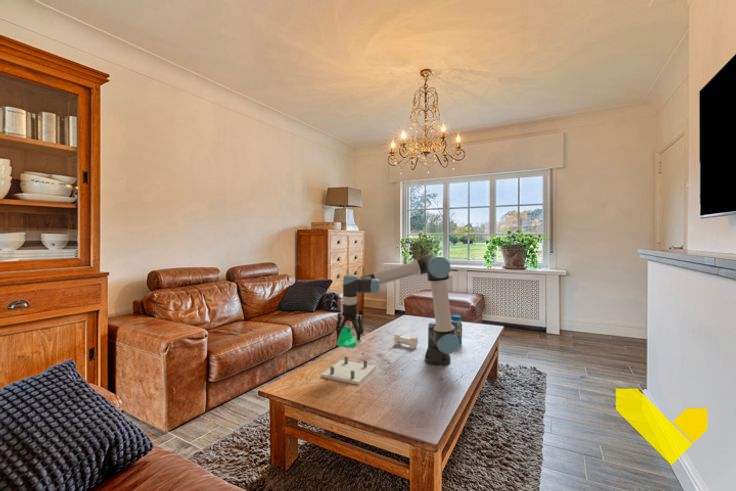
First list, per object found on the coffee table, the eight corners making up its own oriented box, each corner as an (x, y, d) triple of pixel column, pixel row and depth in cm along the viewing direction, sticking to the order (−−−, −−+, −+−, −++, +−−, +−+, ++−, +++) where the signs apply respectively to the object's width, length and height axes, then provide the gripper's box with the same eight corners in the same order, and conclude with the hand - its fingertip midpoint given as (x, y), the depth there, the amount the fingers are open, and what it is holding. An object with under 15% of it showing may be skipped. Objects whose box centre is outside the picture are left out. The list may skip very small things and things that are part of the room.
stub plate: (375, 368, 190) (375, 360, 190) (358, 384, 170) (359, 375, 170) (340, 362, 199) (341, 353, 199) (321, 376, 179) (321, 367, 179)
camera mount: (347, 350, 177) (348, 330, 176) (336, 347, 181) (337, 328, 181) (361, 344, 187) (361, 325, 186) (350, 341, 191) (351, 323, 191)
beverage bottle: (448, 345, 231) (449, 316, 230) (450, 341, 239) (450, 313, 238) (461, 347, 228) (462, 317, 227) (462, 343, 236) (463, 314, 235)
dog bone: (418, 348, 227) (419, 335, 227) (412, 350, 220) (413, 337, 220) (398, 343, 236) (399, 331, 236) (392, 345, 228) (393, 333, 229)
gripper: (370, 304, 182) (370, 345, 183) (335, 300, 191) (335, 340, 192) (365, 307, 175) (364, 350, 176) (329, 303, 184) (328, 344, 185)
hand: (349, 345), depth 184 cm, fingers closed on camera mount, 8 cm apart
